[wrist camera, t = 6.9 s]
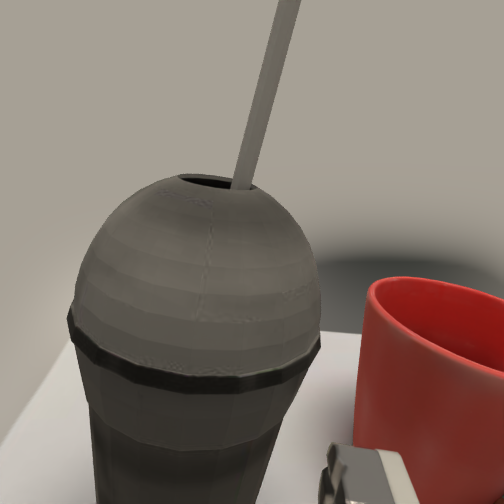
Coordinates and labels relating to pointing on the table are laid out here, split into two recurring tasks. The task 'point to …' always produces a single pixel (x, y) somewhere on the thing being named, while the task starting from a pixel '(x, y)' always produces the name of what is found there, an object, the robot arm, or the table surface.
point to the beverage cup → (196, 326)
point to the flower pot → (434, 386)
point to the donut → (499, 500)
